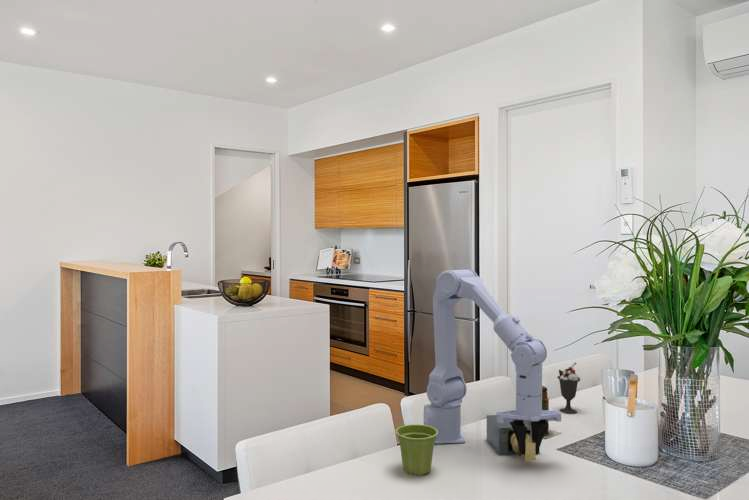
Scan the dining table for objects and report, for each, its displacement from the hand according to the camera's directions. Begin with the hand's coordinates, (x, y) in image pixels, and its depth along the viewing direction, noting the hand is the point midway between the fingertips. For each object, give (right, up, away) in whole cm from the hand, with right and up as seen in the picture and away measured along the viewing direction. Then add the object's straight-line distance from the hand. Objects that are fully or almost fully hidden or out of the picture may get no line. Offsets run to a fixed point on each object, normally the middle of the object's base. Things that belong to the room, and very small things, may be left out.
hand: (528, 452), depth 124 cm
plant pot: (-26, -3, -3) cm, 26 cm away
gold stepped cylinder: (0, -2, +6) cm, 6 cm away
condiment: (+9, -3, +22) cm, 24 cm away
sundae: (+24, -3, +40) cm, 47 cm away
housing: (-1, -3, +11) cm, 11 cm away
